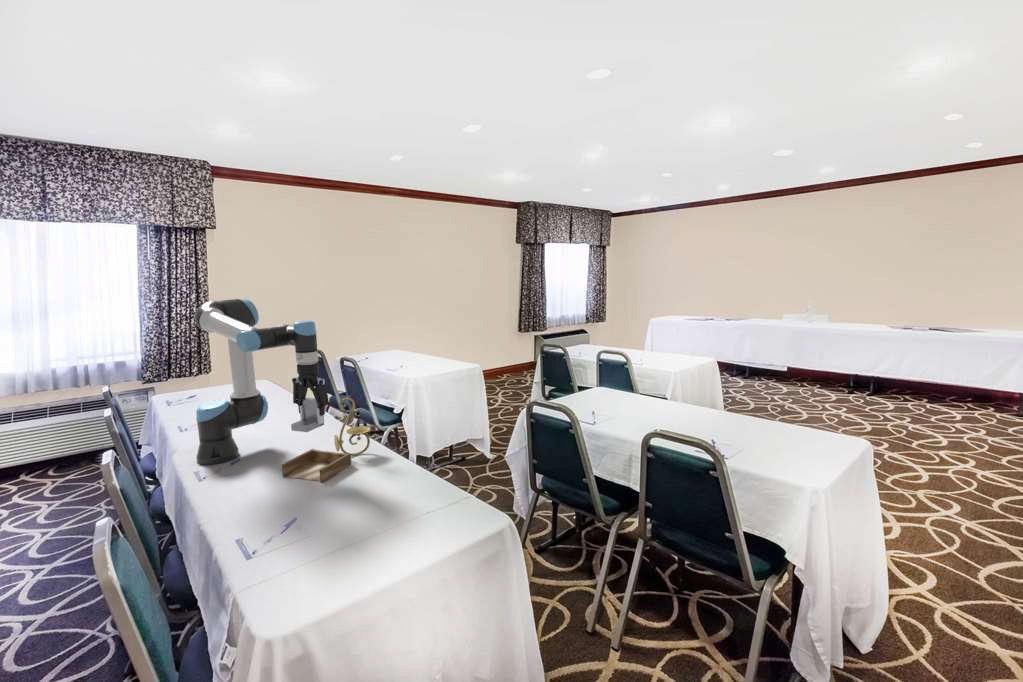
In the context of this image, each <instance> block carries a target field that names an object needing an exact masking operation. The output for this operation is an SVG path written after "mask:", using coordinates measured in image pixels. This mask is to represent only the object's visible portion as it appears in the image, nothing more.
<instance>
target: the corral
mask: <svg viewBox="0 0 1023 682" xmlns="http://www.w3.org/2000/svg"><path fill="white" fill-rule="evenodd" d="M350 453H351V452H348V454H345V453H343V452H338V451H336V452H335V451H328V450H320V449H315V448H311V449H309V450H307V451H305V452H303V453H301V454H299V455H297V456H295V457H294V458H291V459H289V460H288V461H285V462H283V463H282V464H281V471H282V478H292V479H299V480H304V481H305V480H306V481H313V482H320V483H319V484H325V483H326V482H327V481H329V480H331V479H333V478H334V477H336V476H337V475H339V474H340V473H342V472H344V471H346V470H347V469H349V468H350V467H352V456H351V454H350Z"/></svg>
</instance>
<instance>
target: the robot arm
mask: <svg viewBox="0 0 1023 682" xmlns="http://www.w3.org/2000/svg"><path fill="white" fill-rule="evenodd" d="M193 318H194V323H195V324H196V325H197V327H198V328H199V329H201V330H203V331H204V332H206V333H210V334H211V333H216V334H218V335H220V336H222V337H224V338H227V345H228V353H229V362H230V370H231V371H230V372H231V379H232V380H231V381H232V388H233V392H232V393H231V394H230V401H228V400H227V399H226V398H225V399H224V398H222V399H221V398H220V399H217V400H214V399H213V400H211V401H207V402H205V403H203V404H201V405H200V406H198V407H197V409H196V414H195V415H196V418H195V420H196V422H197V423H196V424H197V431H198V439H199V445H198V450H197V454H196V463H197V464H199V465H216V464H217V465H218V464H222V463H226V462H229V461H231V460H234V459H235V458H237V457H239V455H240V451H239V447H238V446H237V443H236V442H235V439H234V438H233V431H232V430H234V429H238V428H242V427H246V426H249V425H255V424H257V423H259V422H262V421H264V420H265V419H266V417H267V415H268V412H269V405H268V404H269V403H268V400H267V398H266V396H265V395H264V394H261V391H260V390H258V389H257V383H256V374H255V365H254V357H253V355H254V354H253V352H257V351H261V350H267V349H275V348H279V347H287V346H294V347H295V358H296V363H297V364H296V373H297V374H298V376H296V377H292V379H291V380H292V384H293V385H292V390H293V391H292V395H293V397H292V398H293V399H292V403H293V404H296V405H297V406H298V407H297V408H298V414H299V415H300V420H303V419H304V413H303V402H302V399H305V398H307V394H308V389H310V391H311V392H312V394H313V396H314V397H313V398H315V399H316V402H317V405H318V407H317V408H316V409H317V420H318V425H320V424H322V423H324V424H325V415H326V408H325V407H326V406H327V405H330V401H329V395H328V390H327V379H326V378H320V375H319V372H320V365H319V363H318V362H319V352H318V342H317V341H318V340H317V328H316V324H315V322H314V321H313V320H298V321H295V322H293V323H292V324H293V325H291V324H280V325H277V326H272V327H263V328H257V327H255V326H256V325H257V324H258V323H259V321H260V320H259V319H260V318H259V312H258V308H257V307H256V305H255V304H254V303H253V302H252V301H251V300H250V299H247V298H232V299H223V300H210V301H206V302H204V303H202V304H201V305H200V306H198V307H197V308H196V310H195V313H194V317H193Z"/></svg>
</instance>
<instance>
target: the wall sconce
mask: <svg viewBox="0 0 1023 682" xmlns="http://www.w3.org/2000/svg"><path fill="white" fill-rule="evenodd" d="M345 401H349V402H351V403H352V408H351V411H350V412H349V414H348V416H347V417H346V418H345V421H344V422H343V423H342V426H341V429H340V432H339V433H340V434H339V435H338V434H335V435H334V437H333V438H334V446H335V450H336V452H339V451H340V450H341V453H345V454H348V453H350V454H351V457H353V456H355V457H356V456H359V455H362V454H363V453H365V452H366V451H367V450H368V449H369V447H370V444H371V443H370V441H371V440H370V439H371V438H370V436H369V435H368V432H370V431H371V427H370V426H365V425H361V426H360V425H359V426H354V427H351V428H348V429H346V431H345V432H346V433H347V434H349V435H350V437H349V438H348V442H349V444H350V445H351V446H355V445H357V444H358V441H361V439H362V437H361V435H364V436H365V437H366V441H367V442H366V445H365V448H364V449H362V450H360V451H359V452H356V453H355V452H354V453H351V452H347V450H345V449H344V447H343V444H344V440H343V439H342V438H343V435H344V434H343V433H344V429H345V427H346V425H347V423H348V422H349V420H350V418H351V417H352V415H353V414H354V412H355V410H356V403H355V401H354V399H352V398H351V397H344V398H342V399H341V400H340V401H339V407H340V408H343V409H344V408H346V407H347V404H346V403H345V404H342V403H343V402H345ZM356 436H357V437H356ZM354 437H356V439H357V442H356V441H354V442H353V441H352V439H353V438H354Z"/></svg>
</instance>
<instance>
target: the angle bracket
mask: <svg viewBox="0 0 1023 682" xmlns="http://www.w3.org/2000/svg"><path fill="white" fill-rule="evenodd" d="M302 402H303V413H304V419H303V420H301V419H300V420H298V421H295V422H294V423H290V424H291V425H290V426H291V431H293V432H301V433H309V432H311V431H313V430H315V429H317V428H320V427H322V426H324V425H325V422H324V423H322V424H320V425H318V420H317V409H316V408H317V407H318V405H317V402H316V399H315V397H313V398H312V397H306V398H305V399H302Z"/></svg>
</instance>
